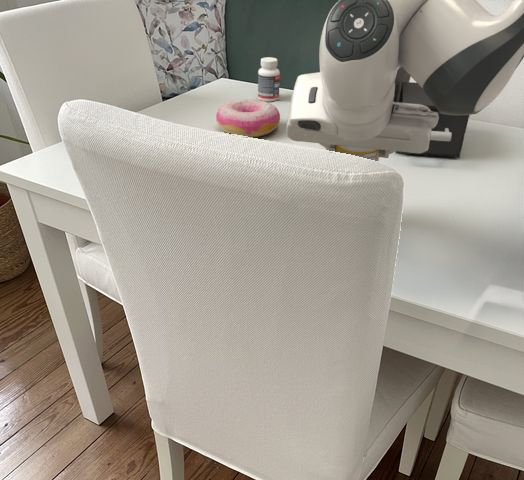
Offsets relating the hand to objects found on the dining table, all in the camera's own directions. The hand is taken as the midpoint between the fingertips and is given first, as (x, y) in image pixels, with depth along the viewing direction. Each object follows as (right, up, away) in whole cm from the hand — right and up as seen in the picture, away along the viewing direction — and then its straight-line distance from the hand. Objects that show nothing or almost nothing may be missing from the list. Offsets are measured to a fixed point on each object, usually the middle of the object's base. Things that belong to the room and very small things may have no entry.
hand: (357, 150), depth 87 cm
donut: (-18, +18, +38) cm, 45 cm away
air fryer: (+20, +13, +33) cm, 40 cm away
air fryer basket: (+19, +11, +29) cm, 37 cm away
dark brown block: (+9, +18, +38) cm, 43 cm away
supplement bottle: (0, -6, +4) cm, 8 cm away
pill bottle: (-13, +32, +54) cm, 64 cm away
